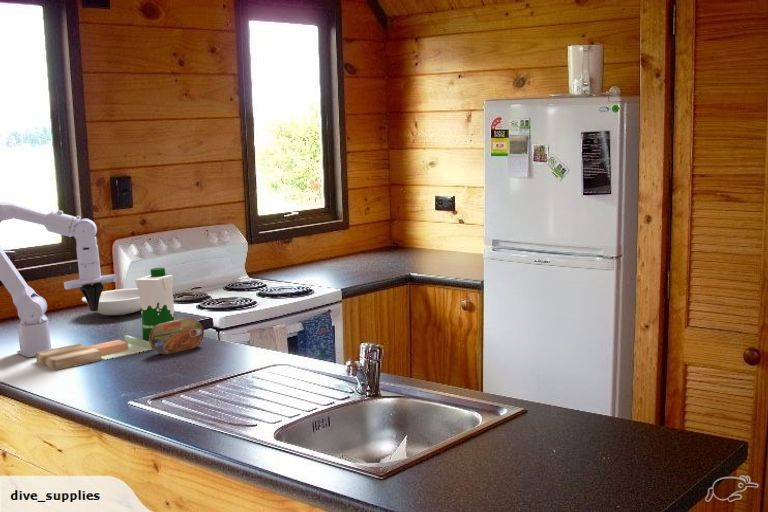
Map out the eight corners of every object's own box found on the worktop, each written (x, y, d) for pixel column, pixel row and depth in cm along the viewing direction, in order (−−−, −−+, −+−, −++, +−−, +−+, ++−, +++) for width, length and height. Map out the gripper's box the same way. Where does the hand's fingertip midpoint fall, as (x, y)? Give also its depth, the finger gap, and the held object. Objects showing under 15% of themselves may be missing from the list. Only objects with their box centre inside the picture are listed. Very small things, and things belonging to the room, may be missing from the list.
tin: (153, 357, 240) (150, 326, 239) (148, 355, 243) (145, 324, 241) (205, 346, 249) (202, 316, 248) (200, 344, 251) (197, 314, 250)
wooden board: (36, 361, 243) (35, 352, 243) (80, 352, 251) (79, 343, 250) (56, 370, 232) (55, 360, 232) (101, 360, 240) (100, 350, 240)
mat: (80, 351, 252) (79, 345, 252) (127, 341, 261) (127, 335, 261) (105, 360, 240) (104, 353, 239) (153, 349, 249) (153, 342, 248)
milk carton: (181, 335, 264) (175, 267, 262) (163, 342, 256) (156, 272, 253) (156, 334, 268) (150, 267, 265) (137, 341, 259) (130, 272, 257)
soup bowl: (173, 308, 307) (171, 289, 306) (118, 324, 287) (116, 303, 286) (124, 305, 320) (122, 286, 319) (68, 319, 300) (65, 299, 299)
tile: (87, 353, 248) (87, 346, 247) (119, 346, 253) (118, 339, 253) (97, 356, 243) (96, 349, 243) (128, 349, 249) (127, 342, 249)
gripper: (68, 267, 245) (74, 317, 247) (119, 259, 254) (124, 307, 256) (58, 265, 250) (64, 314, 252) (108, 258, 260) (113, 305, 262)
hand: (94, 310), depth 255 cm, fingers closed
